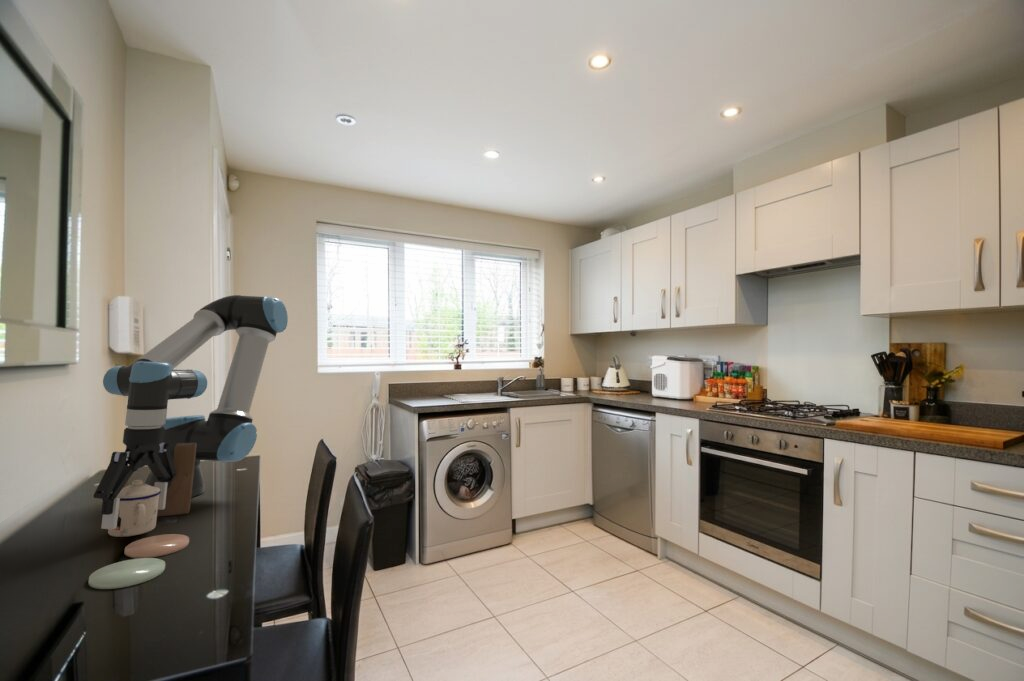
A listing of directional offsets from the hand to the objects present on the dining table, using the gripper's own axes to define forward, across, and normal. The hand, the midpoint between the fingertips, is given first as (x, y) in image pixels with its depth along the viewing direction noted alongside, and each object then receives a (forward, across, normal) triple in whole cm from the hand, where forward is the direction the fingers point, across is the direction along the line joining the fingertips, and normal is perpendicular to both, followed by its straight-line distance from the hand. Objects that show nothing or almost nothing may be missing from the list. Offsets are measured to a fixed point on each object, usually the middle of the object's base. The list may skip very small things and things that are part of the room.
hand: (135, 518), depth 104 cm
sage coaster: (+3, +20, +16) cm, 25 cm away
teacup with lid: (+3, 0, 0) cm, 3 cm away
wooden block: (+3, -13, -2) cm, 14 cm away
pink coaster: (+3, +7, +12) cm, 14 cm away
